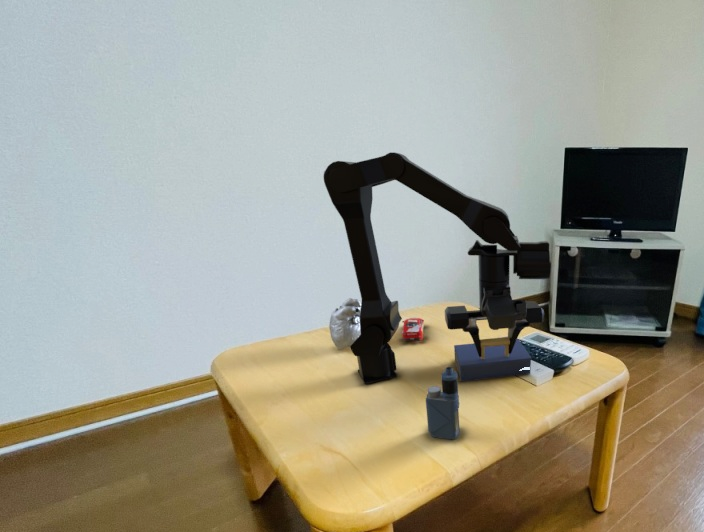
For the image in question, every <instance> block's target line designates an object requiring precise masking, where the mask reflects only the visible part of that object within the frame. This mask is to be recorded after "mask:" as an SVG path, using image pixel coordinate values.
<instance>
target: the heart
mask: <svg viewBox="0 0 704 532" xmlns="http://www.w3.org/2000/svg"><path fill="white" fill-rule="evenodd" d="M361 303H362V302H361V301H360V300H359V299H357V298H350V297H349V298H347V299H346V300H345V301H344V302H342V304H341V305H340V306H339V307H336V308H334V310H332V312H331V314H330V318H329V325H328V328H329V333H330V338H331V341H332V343H333V344H334V346H335V348H336V350H340V351H341V350H342V351H343V350H345V349H347V348H350V346H351V345H352V344H353V342H354V341H355V340H356V339H357V338H358V337H359V336H360V334H361V332H360V311H361Z"/></svg>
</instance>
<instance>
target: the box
mask: <svg viewBox="0 0 704 532" xmlns="http://www.w3.org/2000/svg"><path fill="white" fill-rule="evenodd" d="M453 350H454V351H453V353H454V363H455V366H456V369H457V374H458V376H459V379H460V382H461V383H462V382H471V381H478V380H487V379H495V378H503V377H504V378H505V377H512V376H513V377H515V376H523V375H530V374H531V369H530V370H522V371H519V370H520V369H522V368H524V367H530V368H531V367H532V366H531V365H532V364H531V363H532V361H522V362H513V363H504V364H494V365H485V366H475V367H466V368H461V367H460V364H459V361H458V358H457V355H456V351H455V348H454V347H453Z"/></svg>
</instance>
